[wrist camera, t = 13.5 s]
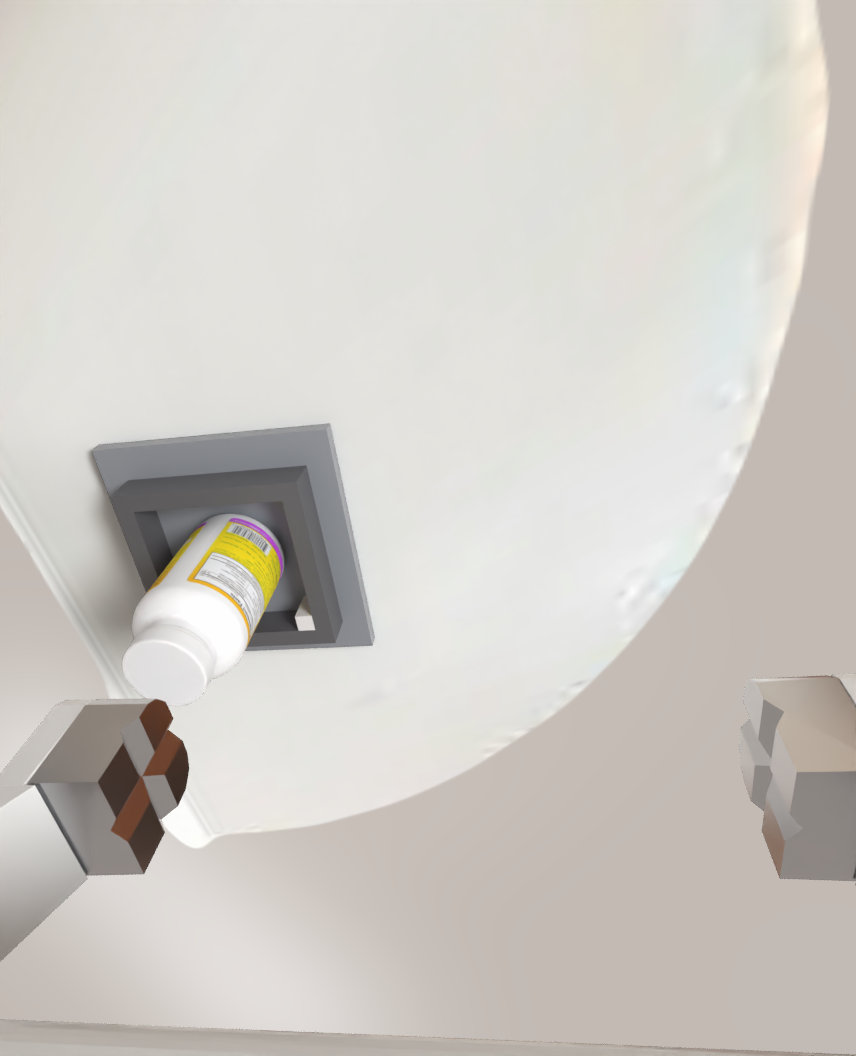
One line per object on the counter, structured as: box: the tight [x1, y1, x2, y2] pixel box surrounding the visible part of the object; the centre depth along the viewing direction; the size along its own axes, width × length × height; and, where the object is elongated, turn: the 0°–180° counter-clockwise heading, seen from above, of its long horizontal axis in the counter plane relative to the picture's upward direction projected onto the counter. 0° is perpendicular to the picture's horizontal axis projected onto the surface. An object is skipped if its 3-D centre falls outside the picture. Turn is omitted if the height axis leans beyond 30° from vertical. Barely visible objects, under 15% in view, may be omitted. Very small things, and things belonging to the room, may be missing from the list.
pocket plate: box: [92, 424, 375, 651], centre depth 48 cm, size 17×16×4 cm
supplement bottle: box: [122, 513, 284, 706], centre depth 43 cm, size 7×7×13 cm
